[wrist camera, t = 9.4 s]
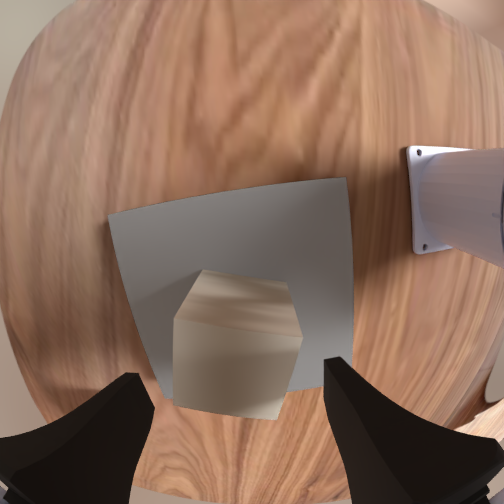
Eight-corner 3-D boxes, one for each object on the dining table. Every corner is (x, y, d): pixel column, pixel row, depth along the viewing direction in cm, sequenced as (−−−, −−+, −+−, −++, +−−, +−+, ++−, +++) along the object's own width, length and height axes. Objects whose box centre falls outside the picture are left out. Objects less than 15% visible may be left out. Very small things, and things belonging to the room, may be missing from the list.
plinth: (331, 178, 17) (346, 176, 14) (340, 357, 20) (350, 380, 17) (128, 210, 18) (107, 215, 15) (173, 375, 21) (165, 398, 18)
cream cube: (286, 282, 15) (303, 337, 10) (270, 351, 17) (276, 420, 11) (202, 269, 15) (173, 318, 9) (196, 339, 16) (173, 405, 11)
